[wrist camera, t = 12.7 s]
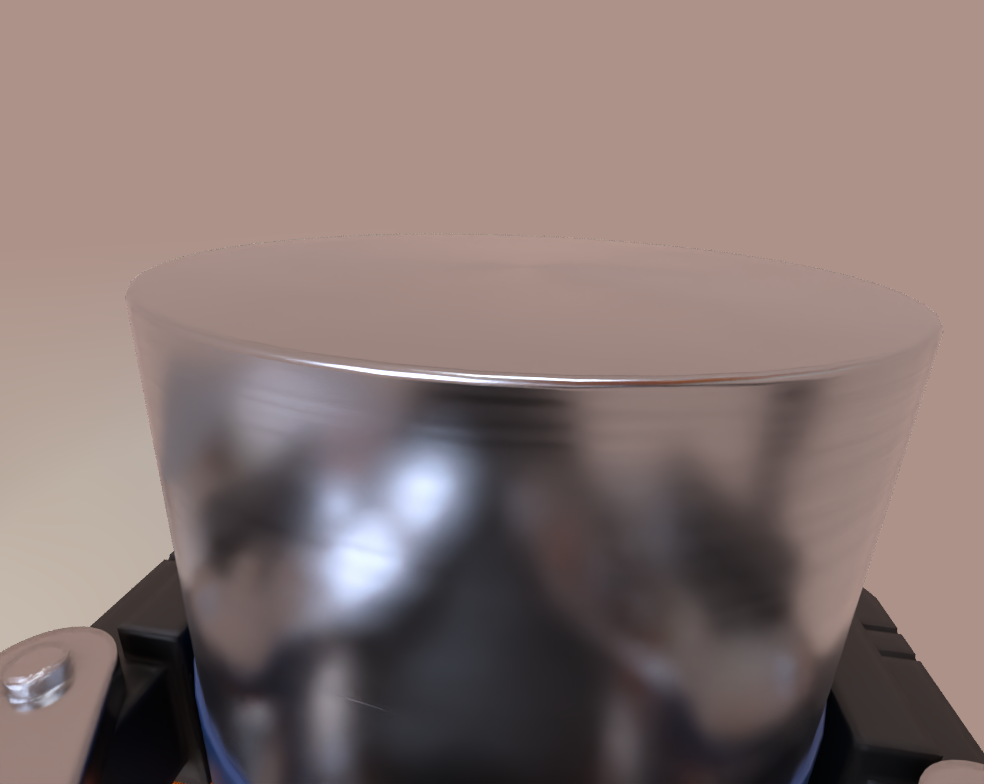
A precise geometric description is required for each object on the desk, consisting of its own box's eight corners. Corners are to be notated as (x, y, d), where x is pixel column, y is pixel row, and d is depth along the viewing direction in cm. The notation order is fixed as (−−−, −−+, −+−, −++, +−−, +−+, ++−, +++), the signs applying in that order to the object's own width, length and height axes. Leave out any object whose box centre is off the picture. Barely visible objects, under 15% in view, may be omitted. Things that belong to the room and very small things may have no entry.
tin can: (631, 798, 13) (726, 241, 9) (770, 1367, 7) (1345, 401, 2) (336, 797, 13) (284, 227, 8) (199, 1382, 6) (-249, 363, 2)
